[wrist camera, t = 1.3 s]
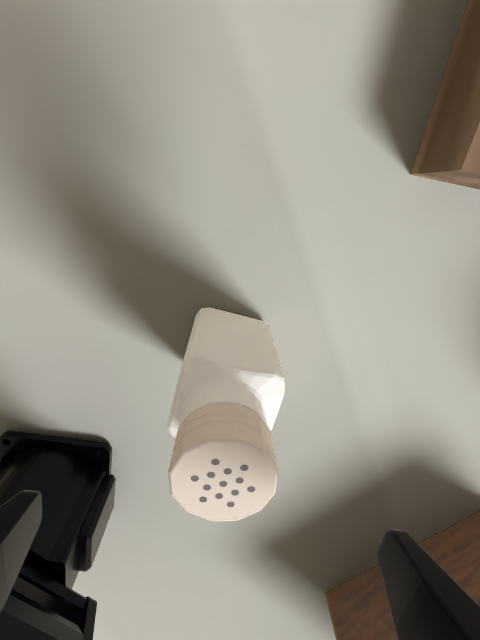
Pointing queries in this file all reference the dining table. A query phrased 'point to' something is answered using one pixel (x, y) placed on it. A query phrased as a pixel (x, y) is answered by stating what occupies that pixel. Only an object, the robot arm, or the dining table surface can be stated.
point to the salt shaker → (225, 418)
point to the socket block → (456, 113)
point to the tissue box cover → (370, 595)
